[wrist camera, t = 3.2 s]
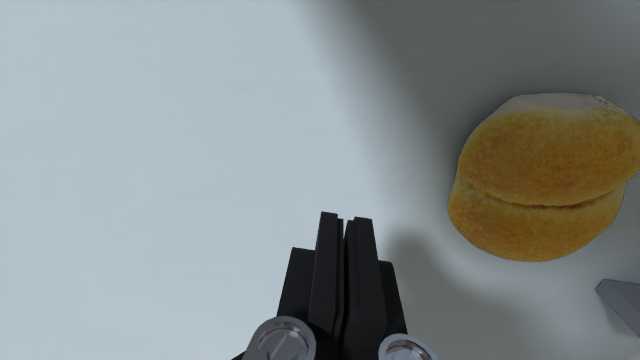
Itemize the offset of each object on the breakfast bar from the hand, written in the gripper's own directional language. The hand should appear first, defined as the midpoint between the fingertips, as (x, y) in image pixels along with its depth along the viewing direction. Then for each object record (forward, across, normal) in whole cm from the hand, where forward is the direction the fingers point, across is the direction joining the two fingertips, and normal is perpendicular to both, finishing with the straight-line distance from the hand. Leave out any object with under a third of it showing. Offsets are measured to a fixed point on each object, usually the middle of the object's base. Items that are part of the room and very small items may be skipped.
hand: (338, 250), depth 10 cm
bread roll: (+8, -10, -1) cm, 13 cm away
